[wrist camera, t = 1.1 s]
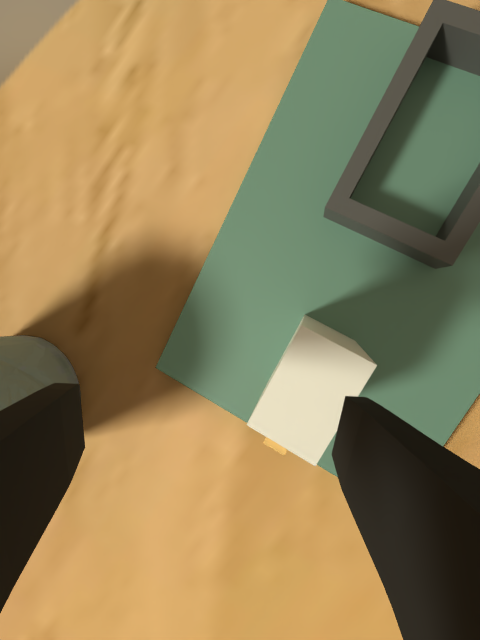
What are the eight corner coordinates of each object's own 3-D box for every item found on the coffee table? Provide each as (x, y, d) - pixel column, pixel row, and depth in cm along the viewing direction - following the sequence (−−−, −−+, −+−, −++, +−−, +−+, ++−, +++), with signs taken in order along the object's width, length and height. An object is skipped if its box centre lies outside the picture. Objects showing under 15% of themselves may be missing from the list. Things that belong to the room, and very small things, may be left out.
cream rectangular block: (354, 340, 17) (377, 365, 11) (307, 421, 18) (305, 483, 12) (304, 314, 18) (301, 325, 12) (260, 394, 18) (237, 441, 13)
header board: (648, 125, 14) (734, 83, 12) (392, 501, 18) (407, 540, 15) (328, 13, 17) (332, -46, 14) (162, 364, 21) (138, 376, 18)
